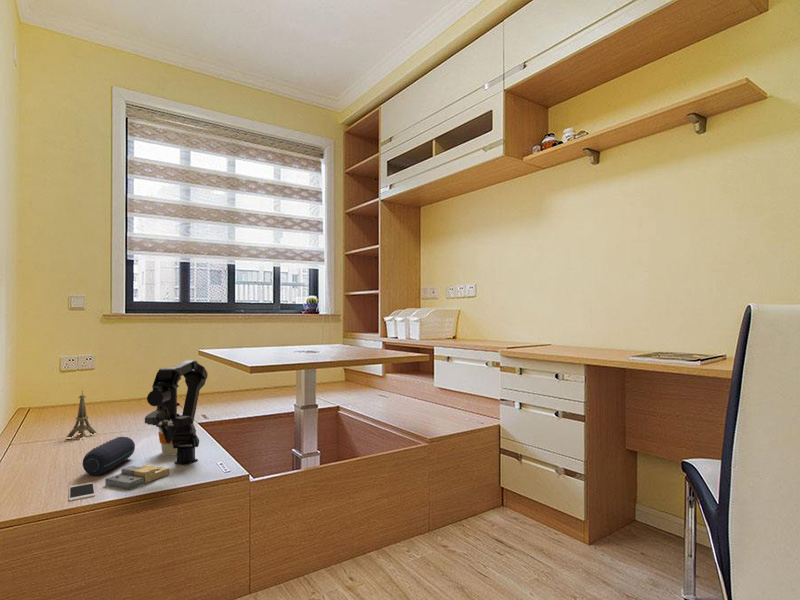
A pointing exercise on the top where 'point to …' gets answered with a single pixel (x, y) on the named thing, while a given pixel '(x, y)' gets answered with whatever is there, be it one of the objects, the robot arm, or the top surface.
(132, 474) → the grey stepped block
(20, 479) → the top surface
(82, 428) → the eiffel tower
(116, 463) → the portable speaker
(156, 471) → the tan flat block
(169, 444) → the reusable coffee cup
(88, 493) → the smartphone
